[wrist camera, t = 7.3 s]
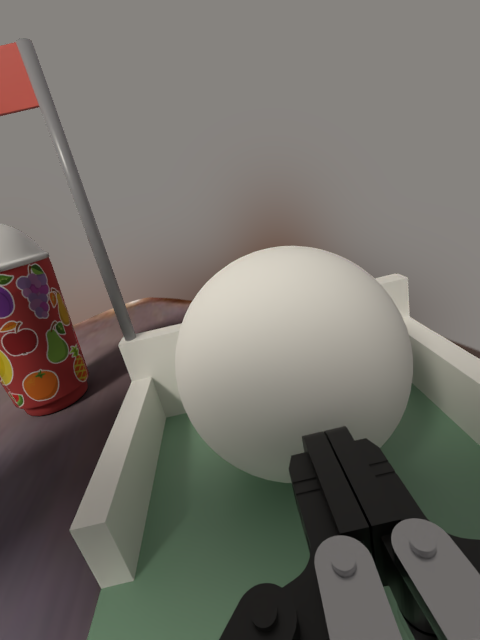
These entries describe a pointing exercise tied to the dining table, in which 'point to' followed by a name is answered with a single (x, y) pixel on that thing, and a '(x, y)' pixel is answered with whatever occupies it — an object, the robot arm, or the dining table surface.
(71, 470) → the dining table surface
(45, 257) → the smoothie
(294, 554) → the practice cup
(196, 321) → the ball
